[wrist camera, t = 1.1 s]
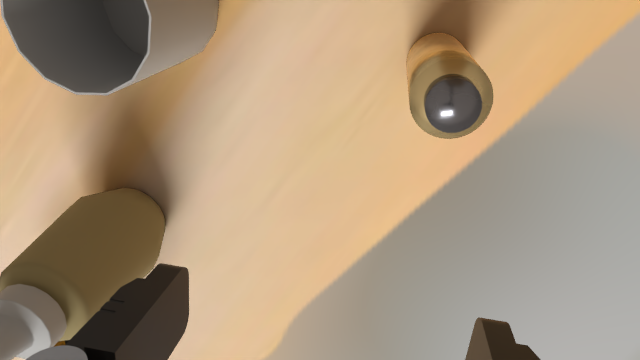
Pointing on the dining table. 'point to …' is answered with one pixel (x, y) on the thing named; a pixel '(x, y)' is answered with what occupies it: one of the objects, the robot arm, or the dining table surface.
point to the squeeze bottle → (77, 269)
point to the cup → (107, 38)
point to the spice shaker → (446, 87)
